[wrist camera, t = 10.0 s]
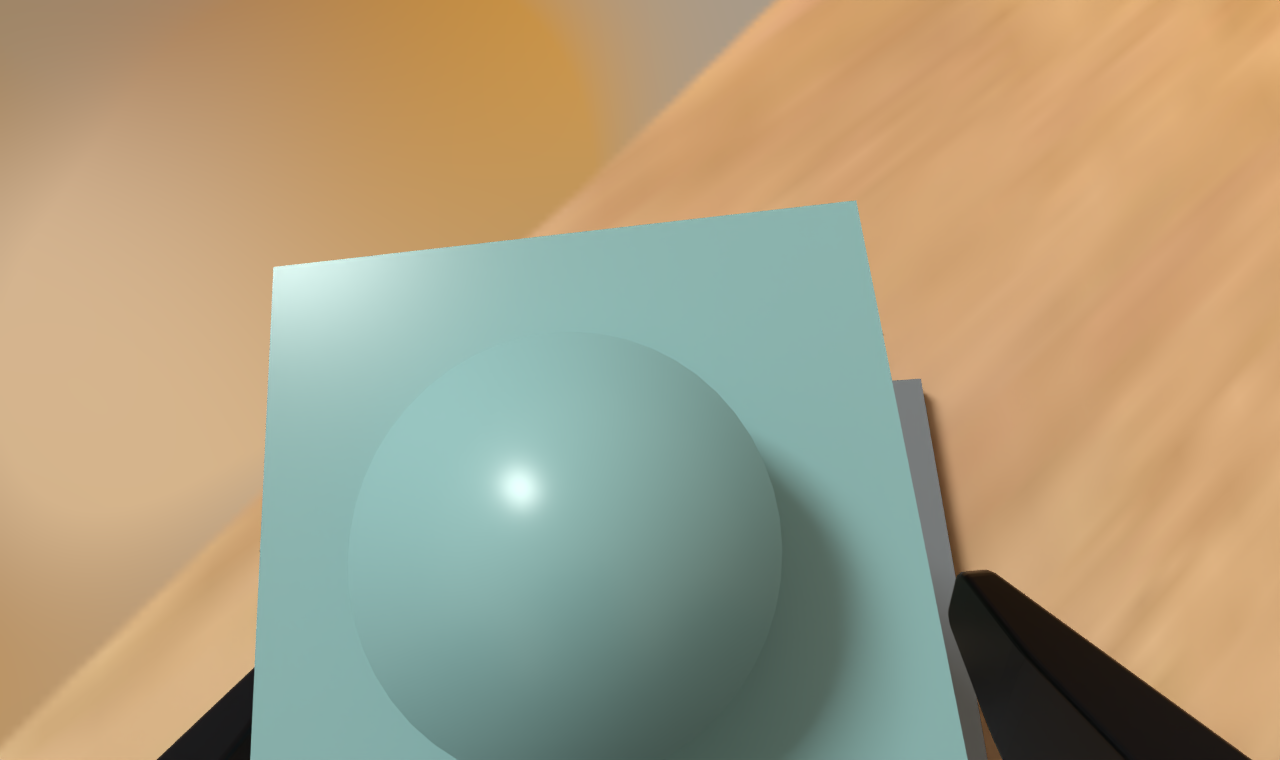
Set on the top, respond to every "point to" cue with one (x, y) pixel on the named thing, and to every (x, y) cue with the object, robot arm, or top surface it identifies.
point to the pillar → (595, 505)
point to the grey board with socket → (937, 550)
